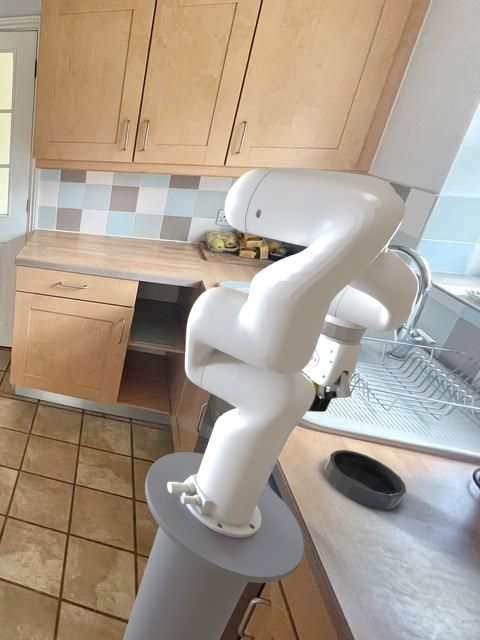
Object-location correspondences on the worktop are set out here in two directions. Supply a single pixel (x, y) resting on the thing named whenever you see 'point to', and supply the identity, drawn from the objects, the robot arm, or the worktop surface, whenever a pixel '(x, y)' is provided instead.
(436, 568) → the worktop surface
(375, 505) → the pan
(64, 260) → the worktop surface
